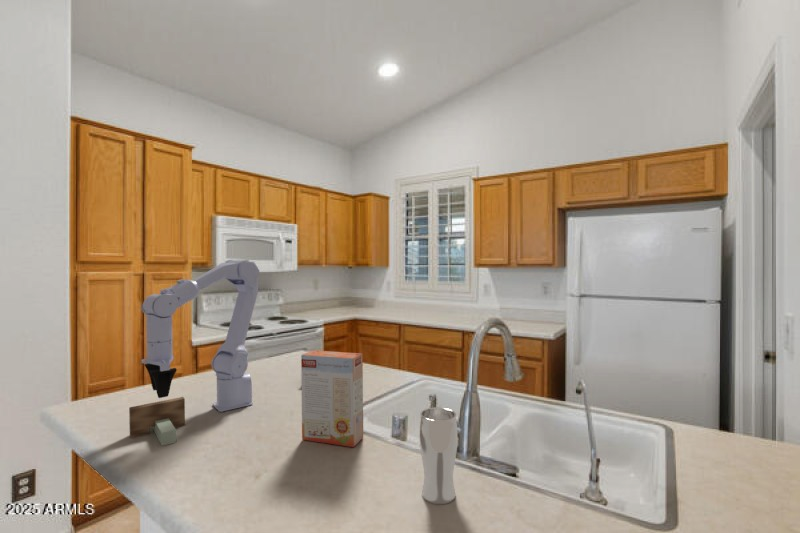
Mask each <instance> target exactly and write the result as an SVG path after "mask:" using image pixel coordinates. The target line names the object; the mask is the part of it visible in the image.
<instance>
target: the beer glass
mask: <svg viewBox="0 0 800 533" xmlns="http://www.w3.org/2000/svg"><path fill="white" fill-rule="evenodd" d="M419 418H420V419H419V420H420V421H419V435H418V437H419V448H420V455H421V460H422V466H423V467H422V468H423V477H424V478H423V485H422V489H421V494H422V495H421V496H422V498H423V499H424V500H425V501H426V502H428V503H431V504H434V505H447V504H449V503H451V502H453V501H454V500H455V498H456V489H455V484H454V483H455V482H454V468H455V464H456V463H455V462H456V458H457V450H458V425H457V414H456V412H455V411H454V410H452V409H450V408H447V407H441V406H439V407H438V406H437V407H435V406H434V407H428V408H424V409H422V410H421V412H420V417H419Z"/></svg>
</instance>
